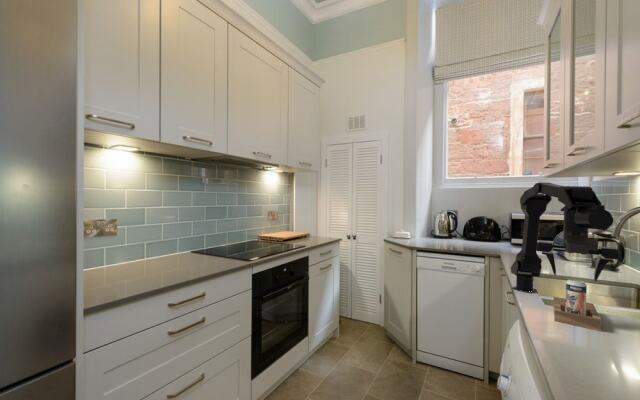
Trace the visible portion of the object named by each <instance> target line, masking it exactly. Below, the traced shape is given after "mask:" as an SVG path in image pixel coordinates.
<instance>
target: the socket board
mask: <svg viewBox="0 0 640 400" xmlns="http://www.w3.org/2000/svg"><path fill="white" fill-rule="evenodd" d="M565 304H566V298H562V297H558V296H553V316H554V317H553V319H554V322H557V323H562V324H567V325H572V326H576V327H579V328H580V327H581V328H586V329H588V330H589V329H590V330H594V331H599V332H602V318H601V317H600V315H599V313H598V310H597V309H596V306H595V305H594V303H590V302H587V301H586V316H584V315H579V314H574V313H569V312H565Z"/></svg>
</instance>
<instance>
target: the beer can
mask: <svg viewBox="0 0 640 400" xmlns="http://www.w3.org/2000/svg"><path fill="white" fill-rule="evenodd" d="M587 289H588V288H587V284H586V282H585V281H583V280H580V279H579V280H578V279H571V278H570V279H569V278H568V279H567V281H565V299H566V304H565V312H569V313H574V314H579V315H584V316H586V302H587Z"/></svg>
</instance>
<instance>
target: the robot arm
mask: <svg viewBox="0 0 640 400" xmlns="http://www.w3.org/2000/svg"><path fill="white" fill-rule="evenodd" d="M553 198H557V201H558V202H560V203H562V204H563V205H564V206H563V207H561V208H560V211H561V212H563V233H562V235H563V236H562V238H563V239H562V240H563V241H562V245H559V244H553V242H552V241H542V240H540V241H538V240H539V231H540V221H541V220H540V219H541V217H542V215H544V213H545V212H546V211H547V207H548V204H550V202H551V201H552V200H553ZM519 204H520V210H521V211H522V213H523V214H524V221H523V229H522V230H523V232H522V242H521V250H520V251H519V252H518V253H516V256H515V260H514V261H513V263H512V265H511V266H510V273H511V274H513V275H514V276H516V277H515V278H516V280H515V286H513V287H511V288H512V289H513V290H516V289H518V290H517V291H520V290H523V291H522V292H524V291H527V292H526V293H528V292H529V291H530V292H531V291H535V292H537V291H538V289H535V288H534V277H537V278H539V277H540V276H541V271H542V269H543V267H542V262H543V260H542V258H541V257H540V256H539V254H538V253H537V252H541V255H545V256H546V258H547V260H548V262H549V264H550V266H551V270H552V272H553V275H554V276H556V275H557V268H556V261H555V255H554V251H558V252H566V253H569V254H581V255H596V261H595V268H594V273H593V280H594V282H597V281H598V279H599V277H600V275H601V273H602V271H603V269H604V267H606V266H607V264H609V263H614V261H615V260H617V261H618V260H622V259H621V256H622V253H621V251H620V250H619V249H618V248H616V247H611V246H610V247H609V246H599V239H598V237H589V230H590V229H591V230H597V231H598V230H599V231H603V230H604V231H605V230H607V229H609V228H610V227H611V226H612V225H613V224H614V217H613V216H612V213H611V212H610V211H608V210H607V209H605V208H606V207H605V205H604V204H602V202H601V201H600V199H599V198H598V196H597V194H596V192H595V191H594V189H593V188H592V187H591V186H589V185H588V186H586V185H585V186H584V185H583V186H579V185H577V186H576V185H575V186H574V185H560V184H556V183H553V182H545V181H544V182H542V181H540V182H535V184H534V185H533V186H532V187H531V188H529V189H526V190H525V191H524V192H523V193H522V195H521V196H520V197H519ZM531 293H532V292H531Z"/></svg>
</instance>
